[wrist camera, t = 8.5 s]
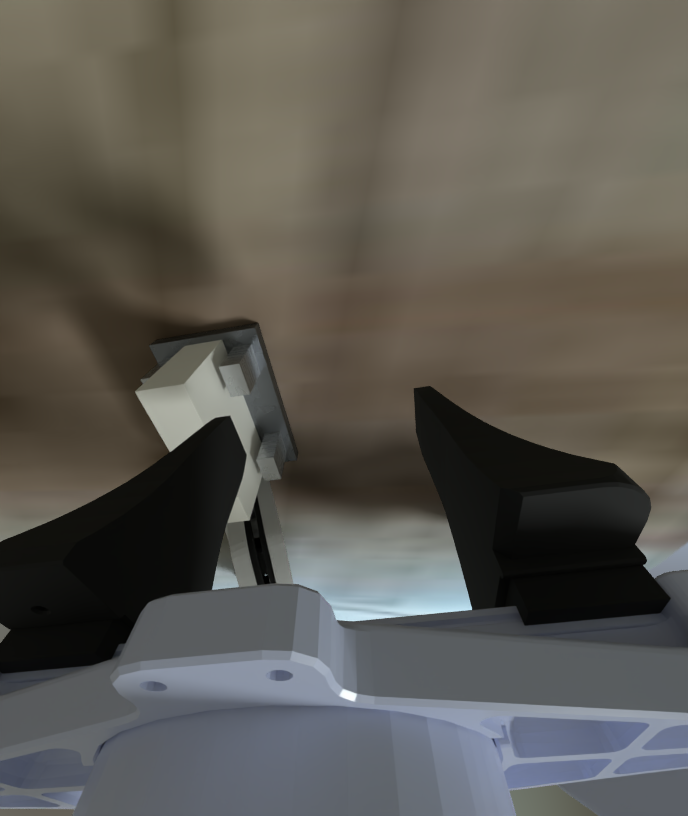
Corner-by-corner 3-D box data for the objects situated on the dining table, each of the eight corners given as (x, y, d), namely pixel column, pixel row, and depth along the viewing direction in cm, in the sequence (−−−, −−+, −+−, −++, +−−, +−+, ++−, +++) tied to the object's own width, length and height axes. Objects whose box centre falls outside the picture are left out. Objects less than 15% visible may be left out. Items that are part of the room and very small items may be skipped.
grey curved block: (207, 468, 28) (209, 573, 20) (262, 454, 29) (286, 547, 21) (244, 579, 36) (256, 682, 29) (286, 564, 38) (308, 659, 30)
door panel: (222, 339, 21) (184, 383, 15) (267, 458, 26) (249, 520, 21) (177, 347, 21) (124, 393, 16) (231, 463, 26) (204, 525, 21)
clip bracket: (258, 322, 21) (242, 345, 18) (298, 452, 27) (292, 487, 23) (156, 339, 21) (122, 365, 18) (217, 463, 27) (199, 499, 24)
